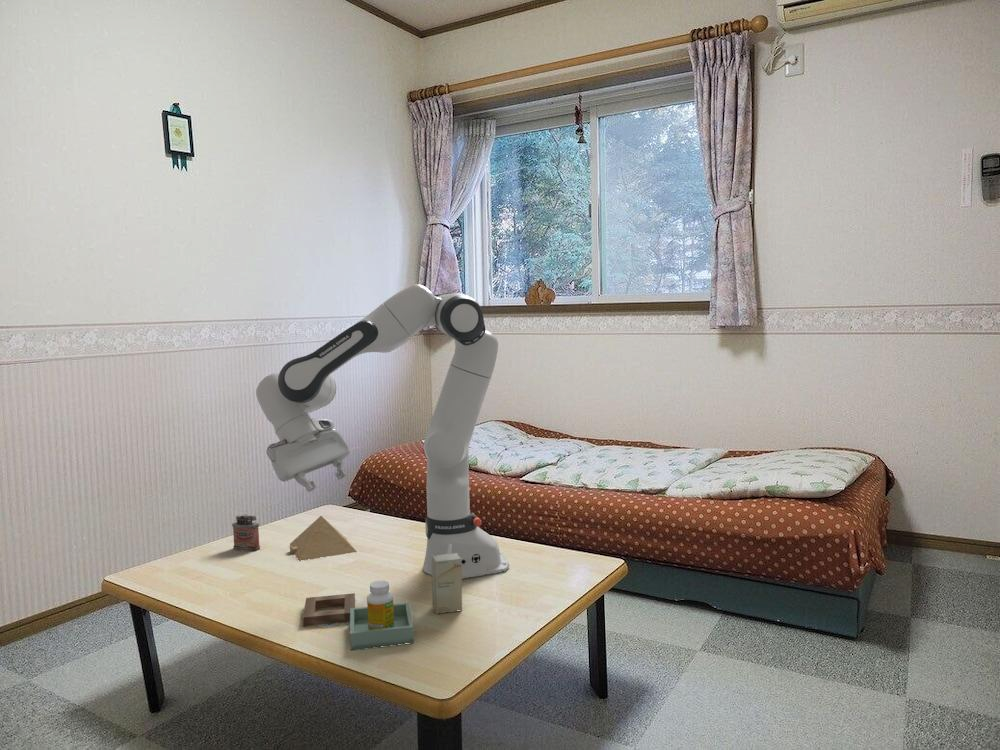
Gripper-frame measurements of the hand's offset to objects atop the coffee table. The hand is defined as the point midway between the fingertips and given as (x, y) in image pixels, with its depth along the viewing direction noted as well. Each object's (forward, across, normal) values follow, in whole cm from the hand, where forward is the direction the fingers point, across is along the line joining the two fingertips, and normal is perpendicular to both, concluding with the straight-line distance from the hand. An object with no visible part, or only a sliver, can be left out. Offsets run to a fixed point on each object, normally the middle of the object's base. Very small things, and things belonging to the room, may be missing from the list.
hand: (327, 483), depth 171 cm
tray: (+36, -12, -5) cm, 38 cm away
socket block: (+26, -11, +9) cm, 29 cm away
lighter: (-5, +7, +54) cm, 55 cm away
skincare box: (+40, +5, -7) cm, 41 cm away
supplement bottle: (+35, -12, -5) cm, 37 cm away
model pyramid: (+7, +19, +41) cm, 45 cm away
